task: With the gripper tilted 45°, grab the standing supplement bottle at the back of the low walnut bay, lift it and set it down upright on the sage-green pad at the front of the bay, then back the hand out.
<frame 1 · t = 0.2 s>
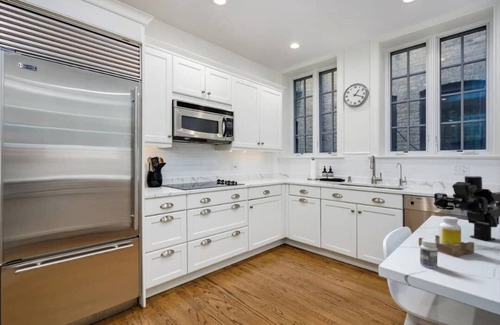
hand: (445, 205, 105), 17 cm above the table, tool horizontal, fingers open, 9 cm apart
pill bottle: (428, 266, 85), on the table
supplement bottle: (449, 251, 99), resting in bay
bay: (444, 248, 101), on the table
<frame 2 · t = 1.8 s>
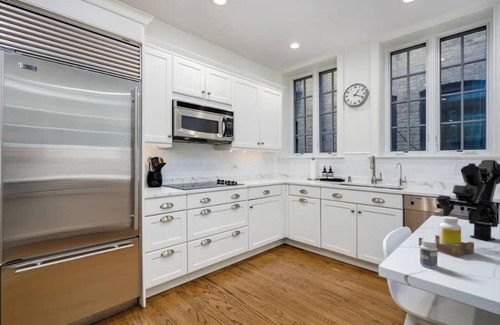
hand: (457, 220, 101), 11 cm above the table, tool tilted 45°, fingers open, 9 cm apart
nothing on the table moved.
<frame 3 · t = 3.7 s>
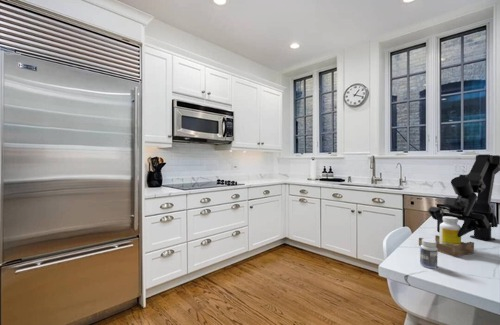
hand: (447, 233, 99), 7 cm above the table, tool tilted 45°, fingers closed on supplement bottle, 7 cm apart
supplement bottle: (449, 251, 99), resting in bay, touching gripper
everything else where it was.
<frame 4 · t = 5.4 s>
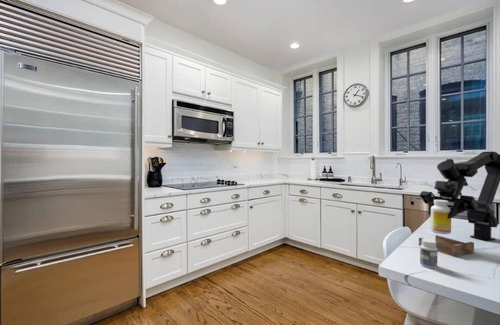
hand: (438, 216, 102), 13 cm above the table, tool tilted 45°, fingers closed on supplement bottle, 7 cm apart
supplement bottle: (440, 232, 103), point 6 cm above the table, touching gripper
everything else where it was.
when the fingers open (8 cm above the table, at t = 7.3 s): supplement bottle stays where it is, resting on bay.
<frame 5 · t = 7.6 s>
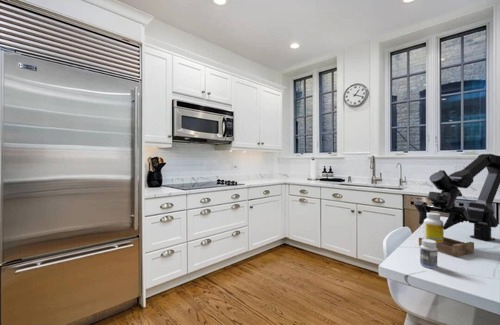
hand: (431, 226, 105), 8 cm above the table, tool tilted 45°, fingers open, 9 cm apart
supplement bottle: (433, 245, 105), resting on bay
everything else where it was.
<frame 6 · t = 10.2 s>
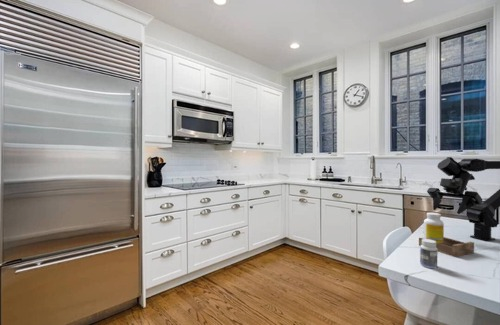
hand: (445, 211, 109), 13 cm above the table, tool tilted 40°, fingers open, 9 cm apart
nothing on the table moved.
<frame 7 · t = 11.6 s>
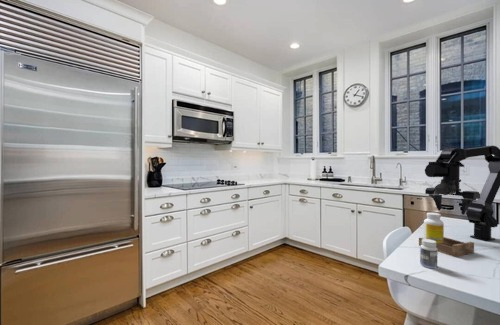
hand: (450, 212, 113), 12 cm above the table, tool pointing down, fingers open, 9 cm apart
nothing on the table moved.
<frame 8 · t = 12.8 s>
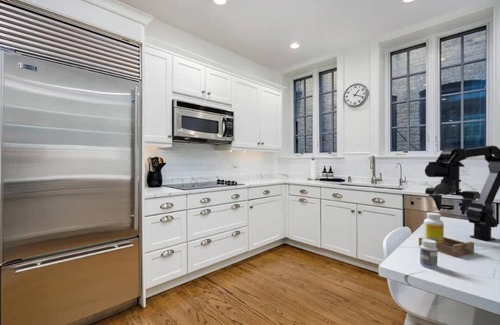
hand: (450, 212, 113), 12 cm above the table, tool pointing down, fingers open, 9 cm apart
nothing on the table moved.
at the end: supplement bottle 0.4 cm from the target spot, resting on bay; supplement bottle tilted 0°; the gripper is holding nothing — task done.
